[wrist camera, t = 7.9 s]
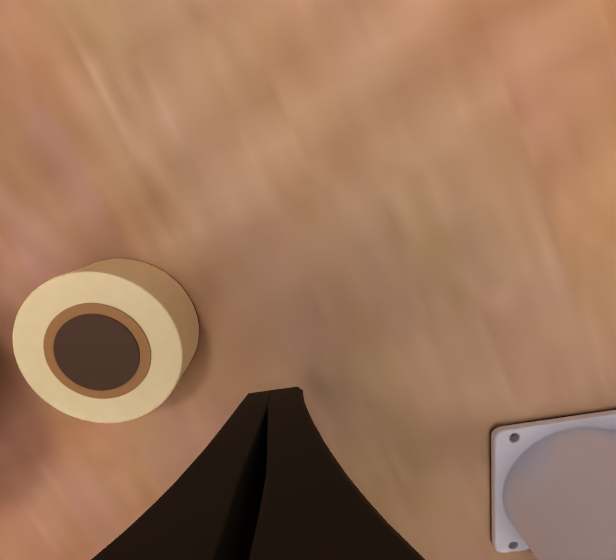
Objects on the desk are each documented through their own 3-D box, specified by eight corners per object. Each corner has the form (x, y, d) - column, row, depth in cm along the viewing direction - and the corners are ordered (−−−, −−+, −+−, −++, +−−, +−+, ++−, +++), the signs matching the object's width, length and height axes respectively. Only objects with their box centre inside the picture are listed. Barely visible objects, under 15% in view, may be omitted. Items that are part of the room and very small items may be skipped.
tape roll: (182, 248, 16) (159, 260, 13) (211, 379, 17) (196, 414, 14) (36, 269, 16) (-18, 285, 13) (79, 398, 17) (40, 436, 14)
